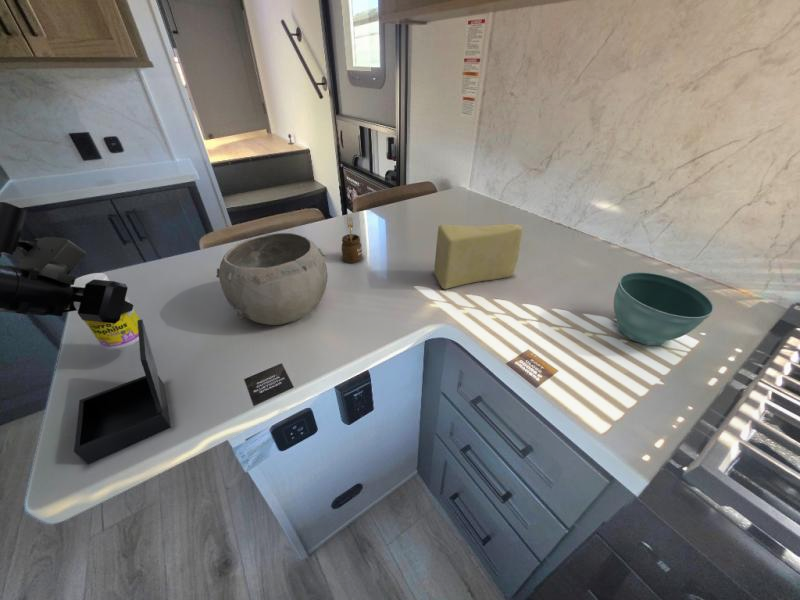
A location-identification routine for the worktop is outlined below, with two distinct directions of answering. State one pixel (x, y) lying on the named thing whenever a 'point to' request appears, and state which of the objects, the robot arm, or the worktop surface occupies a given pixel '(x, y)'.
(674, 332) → the teal green bowl
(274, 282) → the bowl
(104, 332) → the supplement bottle
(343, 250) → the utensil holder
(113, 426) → the black open box
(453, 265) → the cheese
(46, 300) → the robot arm
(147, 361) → the lid
